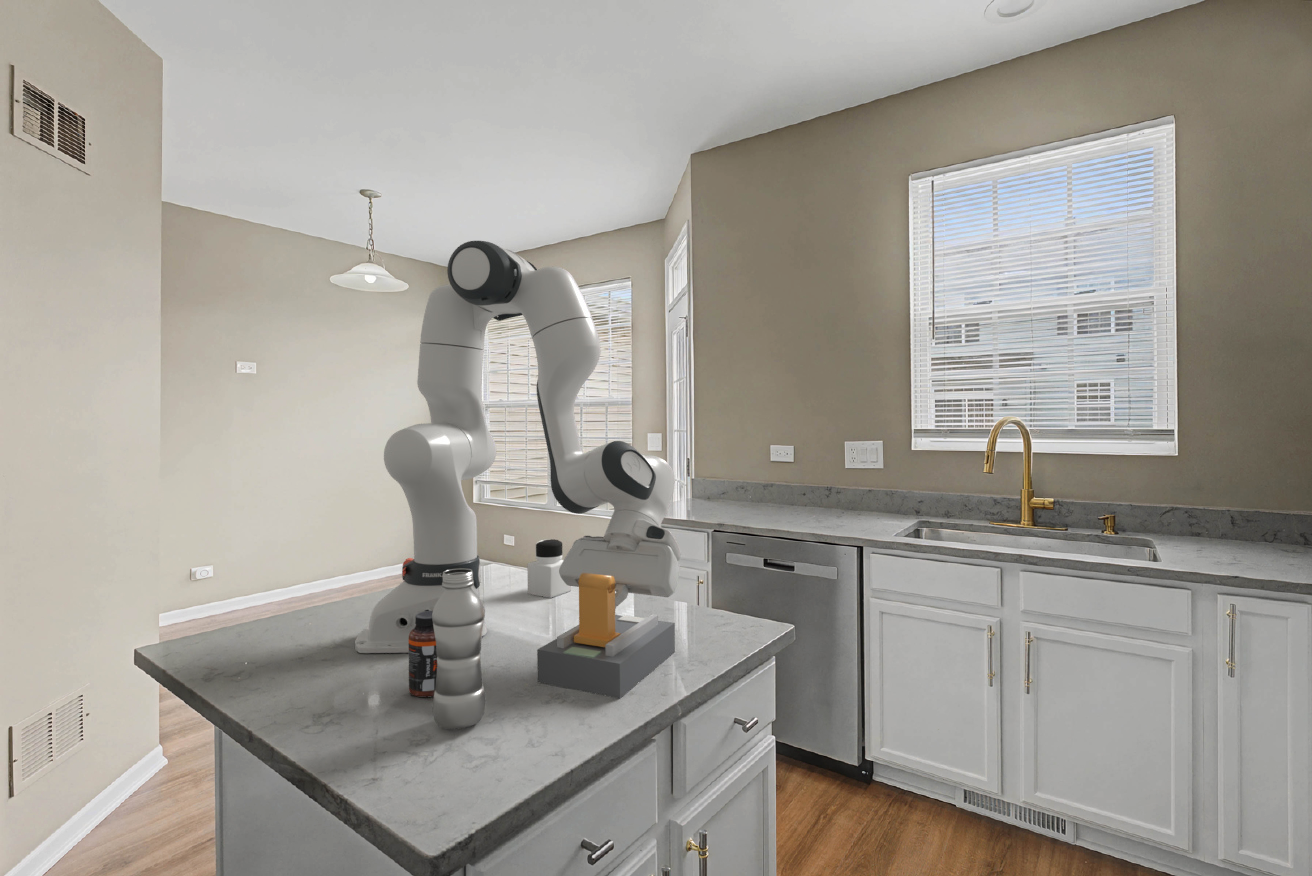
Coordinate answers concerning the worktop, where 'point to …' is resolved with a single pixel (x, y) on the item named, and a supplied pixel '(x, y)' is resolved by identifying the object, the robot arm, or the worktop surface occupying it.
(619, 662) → the breaker box
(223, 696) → the worktop surface
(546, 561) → the medicine bottle
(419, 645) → the supplement bottle
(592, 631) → the handle
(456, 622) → the plastic bottle
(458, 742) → the worktop surface
